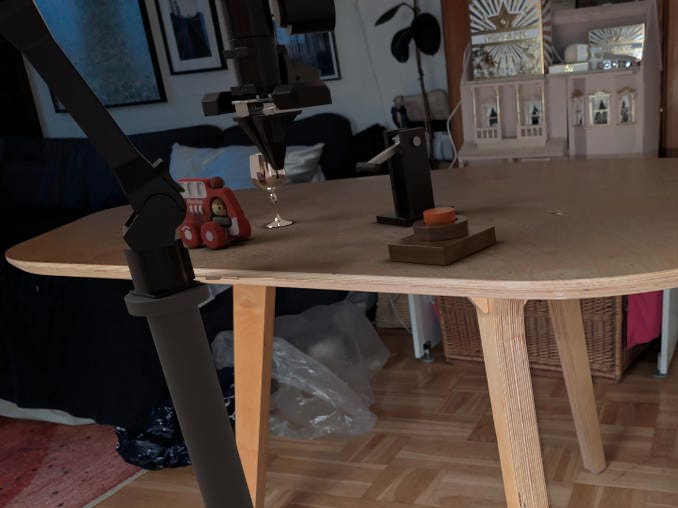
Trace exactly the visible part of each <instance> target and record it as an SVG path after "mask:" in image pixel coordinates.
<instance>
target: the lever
mask: <svg viewBox="0 0 678 508" xmlns="http://www.w3.org/2000/svg"><path fill="white" fill-rule="evenodd" d="M392 140H393V142H394V144H393V145H392V146H390V147H389V148H388V149H386V148H385V150H383V151H382V152H380V153H379V154H377V155H376V156H374V157H373V158H371V159H370V160H368V161H367V162H357V163H356V164H355V169H356V170H357V171H360V172H380V171H381V169H382V166H381V164H382V163H384V162H386V161H387V159H388V158H390V157H391V156H392V155H394V154H395V153H397V152H398V153H401V147H400V140H399V134H398V135H396V136H395V137H393V138H392Z"/></svg>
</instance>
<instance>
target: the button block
mask: <svg viewBox="0 0 678 508" xmlns="http://www.w3.org/2000/svg"><path fill="white" fill-rule="evenodd" d="M455 216H456V221H455V222H452V223H447V224H442V225H425V222H424V219H422V220H419V221H416V222H415V223H414V224H413V225H412V232H413V233H412V234H410V235H408V236H405V237H402V238H400V239H397V240H395V241H392V242H389V243H387V249H388V255H389V260H390V261H391V262H401V263H410V264H411V263H412V264H413V263H414V264H424V265H425V264H426V265H436V266H437V265H438V266H447V265H450V264H452V263H454V262H456V261H459V260H461V259H463V258H466V257H468V256H470V255H472V254H473V253H476V252H479V251H480V250H483V249H485V248H487V247H490V246H491V245H494V244H496V243H497V236H496V226H495V225H477V224H476V225H475V224H474V225H473V224H470V223H469V218H468V216H465V215H462V214H455Z"/></svg>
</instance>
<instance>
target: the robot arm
mask: <svg viewBox="0 0 678 508" xmlns="http://www.w3.org/2000/svg"><path fill="white" fill-rule="evenodd" d="M270 1H271V5H270ZM218 4H219V9H220V14H221V17H222V23H223V27H224V31H225V35H226V41H227V45H228V49H224V50H222V51H221V53H222V57H223V60H224V61H225V60H227V61H228V60H231V64H232V68H233V72H234V73H233V74H234V78H235V82H236V85H235V86H230V87H229V89H230V90H226V91H215V92H208V93H205V94H204V95H203V97H202V99H201V101H200V103H201V107H202V111H203V116H204V117H206V118H207V117H217V116H222V115H228V114H229V115H230V114H236V116H233V117H231V120H232V121H233V122H235V123H237V124H238V125H239V126H240V128H241V129H242V130H243V131H244V132H245V134H246V135H247V136H248V137H249V139H250V140H251V142H253V144H254V145H255V147H256V148H257V150H258V151H259V153H262V155H263V156H264V157H265V159H266V160H267V162H268V163H269V164H270V166H271V167H272V169H273V170H275V171H278V170H283V169H284V167H285V163H286V154H287V146H288V137H289V134H290V129H291V125H292V124H293V122H294V121H295V119H296V118H297V117H298V116H299V115H302V113H303V109H304V108H305V109H306V108H313V107H320V106H328V105H333V98H332V93H331V88H330V86H329V85H328V84H327V83H326V82H325V81H324V80H321V74H322V71H321V69H318V68H316V67H314V66H311V65H309V64H306V63H303V62H302V61H298V60H294V59H291V58H290V56H289V51H288V48H287V47H286V45H285V44H278V42H277V36H276V31H275V26H274V22H275V25H276V26H277V27H278V28H280V29H284V30H285V32H286V34H287V35H288V36H298V35H299V36H300V35H309V34H311V35H313V34H323V33H333V32H334V31H335V29H336V25H337V24H336V23H337V13H336V4H335V0H218ZM271 8H272V11H271ZM272 13H273V15H272ZM273 19H274V20H273ZM0 35H2V36H3V37H4V38H5V39H6V40H7V41H8V42H9V43H11V44H12V46H14V47H15V48H16V49H17V50H18V51H19V52H20V53H21V54H22V55H23V56H24V58H25V59H27V61H28V63H29V64H30V66H31V67H32V68H33V70H35V72H36V73H37V74H38V76H39V77H40V78H41V79H42V81H44V83H45V85H46V86H47V87H48V88H49V90H50V91H51V92H52V94H53V96H55V98H57V100H58V101H59V103H60V104H61V106H62V107H63V108H64V109H65V110H66V112H67V113H68V114H69V116H70V117H71V118H72V119H73V120H74V122H75V123H76V124H77V126H78V127H79V128H80V129H81V131H82V132H83V133H84V134H85V136H86V137H87V139H88V140H89V141H90V143H91V144H92V145H93V146H94V148H95V149H96V151H98V153H99V154H100V155H101V156H102V158H103V159H104V161H105V162H106V163H107V164H108V166H109V167H110V169H111V170H112V172H113V174H114V176H115V178H116V180H117V182H118V184H119V186H120V187H121V190H122V192H123V193H124V196H125V198H126V199H127V201H128V203H129V205H130V206H131V209H132V210H133V211H132V212H131V214H130V215H129V217H128V218H127V219H126V220H125V222H124V224H123V225H122V238H123V240H124V242H125V243H126V244H127V247H124V248H122V251H123V254H124V258H125V261H126V264H127V267H128V270H129V274H130V277H131V280H132V283H133V286H134V289H132V290H129V293H130V295H133V296H139V297H145V298H151V299H160V298H163V297H166V296H169V295H172V294H175V293H178V292H181V291H184V290H187V289H190V288H193V287H196V286H199V285H201V282H202V281H201V280H199V279H198V280H197V279H196V273H195V270H194V266H193V262H192V258H191V254H190V251H189V249H188V248H187V247H186V246H185V245H184V244H185V243H184V242H183V240H182V238H181V236H179V237H178V236H176V232H177V229H178V228H180V226H181V224H182V223H184V221H185V219H186V213H187V206H186V202H185V200H184V198H183V196H182V195H181V194H180V192H185V189H184V188H183V187H182V186H181V185H180V184H179V183H178V182H177V181H176V180H175V179H174V178H173V177H172V175H171V173H170V171H169V169H168V167H167V165H166V163H165V161H164V160H163V158H160V157H159V158H158V159H156V160H155V161H154V162H153V163H151V162H150V161H149V159H147V158H146V157H145V156H143V154H142V153H140V151H138V149H137V148H136V147H135V146H134V144H133V143H132V141H131V140H130V139H129V137H128V136H127V135H126V134H125V132H124V131H123V129H122V128H121V127H120V125H119V124H118V122H117V121H116V120H115V118H114V117H113V116H112V114H111V113H110V111H109V110H108V109H107V107H105V105H104V104H103V103H102V101H101V99H100V98H99V97H98V96H97V94H96V93H95V92H94V90H93V89H92V88H91V86H90V85H89V84H88V82H87V81H86V80H85V78H84V76H82V74H81V73H80V71H78V69H77V68H76V66H75V65H74V64H73V62H72V61H71V60H70V58H69V57H68V56H67V54H66V52H64V50H63V49H62V48H61V46H60V45H59V44H58V42H57V41H56V39H55V37H54V35H53V33H52V32H51V29H50V28H49V26H48V23H47V21H46V20H45V18H44V16H43V14H42V12H41V10H40V8H39V6H38V5H37V2H36V1H35V0H0ZM257 96H258V97H257Z"/></svg>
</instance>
